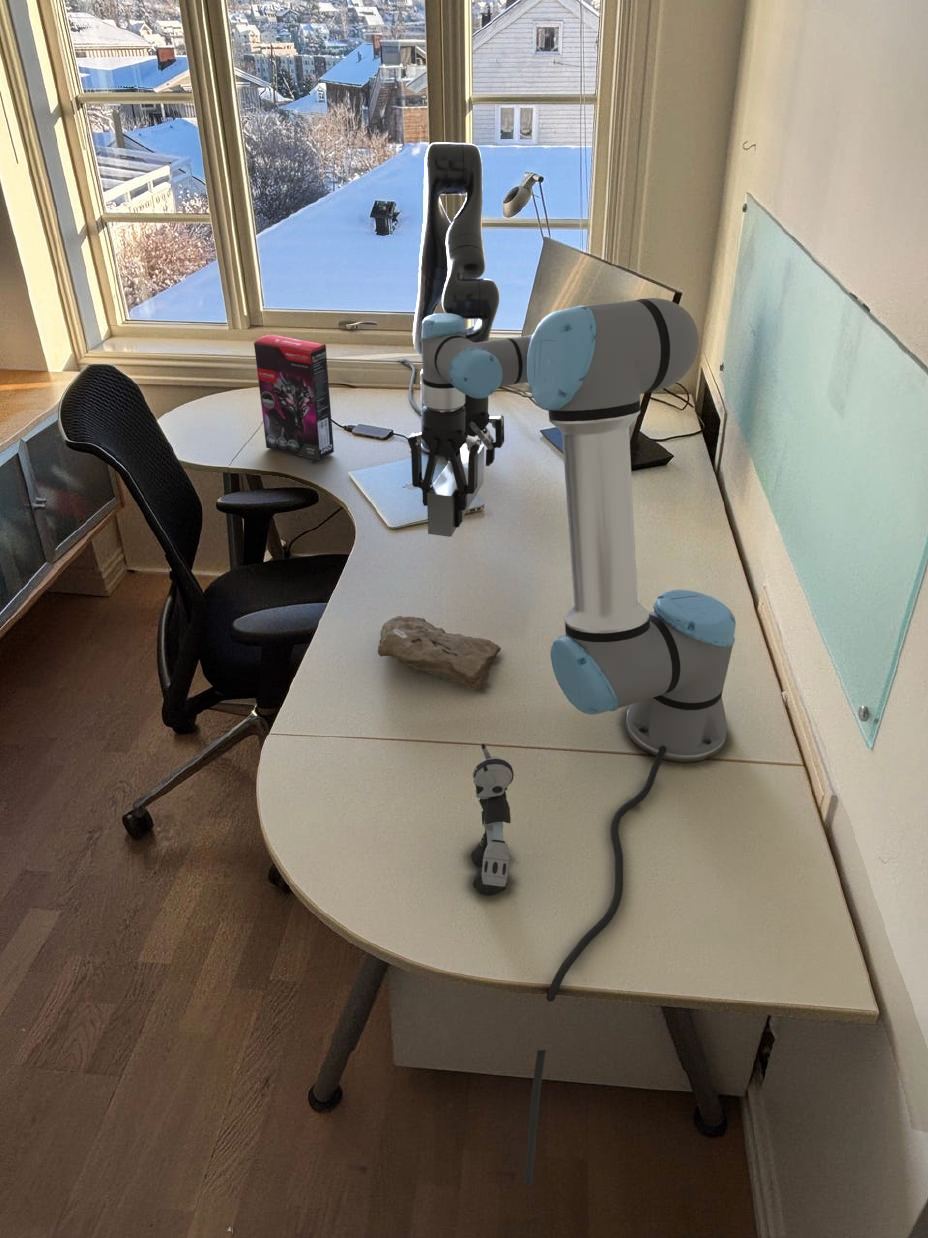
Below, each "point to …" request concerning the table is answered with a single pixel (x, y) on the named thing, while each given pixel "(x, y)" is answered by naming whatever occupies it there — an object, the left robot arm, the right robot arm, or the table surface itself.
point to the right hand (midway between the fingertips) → (445, 522)
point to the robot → (492, 823)
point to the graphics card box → (294, 396)
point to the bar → (450, 496)
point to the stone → (438, 651)
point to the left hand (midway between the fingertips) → (468, 461)
